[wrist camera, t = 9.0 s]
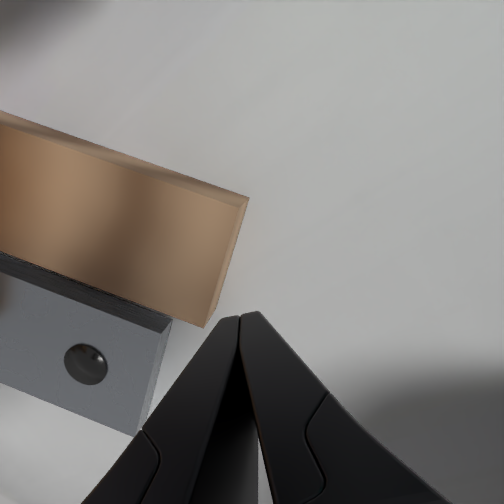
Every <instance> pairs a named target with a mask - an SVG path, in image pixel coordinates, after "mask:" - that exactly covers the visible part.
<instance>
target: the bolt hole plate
mask: <svg viewBox="0 0 504 504" xmlns="http://www.w3.org/2000/svg"><path fill="white" fill-rule="evenodd" d="M172 320H173V319H170V318H167V317H165V316H162V315H160V314H157V313H154V312H152V311H149V310H146V309H144V308H141V307H139V306H136V305H133V304H131V303H128V302H126V301H123V300H120V299H118V298H115V297H112V296H110V295H107V294H105V293H102V292H99V291H97V290H94V289H91V288H89V287H86V286H84V285H81V284H78V283H76V282H73V281H70V280H68V279H65V278H63V277H60V276H57V275H55V274H52V273H49V272H47V271H44V270H42V269H39V268H36V267H34V266H31V265H28V264H26V263H23V262H21V261H18V260H15V259H13V258H10V257H8V256H5V255H2V254H0V383H3V384H5V385H8V386H10V387H13V388H15V389H17V390H20V391H22V392H25V393H27V394H30V395H32V396H34V397H37V398H39V399H42V400H44V401H47V402H49V403H52V404H54V405H56V406H59V407H61V408H64V409H66V410H69V411H71V412H74V413H76V414H78V415H81V416H83V417H86V418H88V419H91V420H93V421H95V422H98V423H100V424H103V425H105V426H108V427H110V428H113V429H115V430H117V431H120V432H122V433H125V434H127V435H130V436H132V437H135V436H136V434H137V433H138V432H139V430H140V429H141V427H142V425H143V424H144V422H145V421H146V419H147V415H148V411H149V408H150V404H151V400H152V396H153V392H154V388H155V385H156V381H157V377H158V373H159V369H160V365H161V362H162V358H163V354H164V350H165V346H166V342H167V339H168V335H169V331H170V327H171V323H172Z"/></svg>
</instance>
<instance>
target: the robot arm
mask: <svg viewBox="0 0 504 504" xmlns="http://www.w3.org/2000/svg"><path fill="white" fill-rule="evenodd" d="M258 437H259V442H260V446H261V451H262V455H263V460H264V464H265V469H266V473H267V478H268V482H269V486H270V491H271V495H272V500H273V504H453V503H451V502H450V501H449V500H447V499H446V498H445V497H444V496H442V495H441V494H440V493H439V492H438V491H436V490H435V489H434V488H433V487H432V486H430V485H429V484H428V483H427V482H426V481H425V480H423V479H422V478H421V477H420V476H419V475H418V474H416V473H415V472H414V471H413V470H412V469H411V468H409V467H408V466H407V465H406V464H405V463H404V462H402V461H401V460H400V459H399V458H398V457H396V456H395V455H394V454H393V453H392V452H391V451H389V450H388V449H387V448H386V447H385V446H384V445H382V444H381V443H380V442H379V441H378V440H377V439H376V438H375V437H373V436H372V435H371V434H370V433H369V432H368V431H367V430H366V429H365V428H364V427H362V426H361V425H360V424H359V423H358V422H357V421H356V420H355V419H354V418H353V416H352V415H351V414H350V413H349V412H348V411H347V410H346V409H345V408H344V407H343V406H342V405H341V404H340V403H339V401H338V400H337V399H336V398H335V397H334V396H333V395H332V394H330V392H329V390H328V389H327V388H326V387H325V386H324V385H323V383H322V382H321V381H320V380H319V379H318V378H317V377H316V375H315V374H314V373H313V372H312V371H311V370H310V369H309V367H308V366H307V365H306V364H305V363H304V362H303V361H302V359H301V358H300V357H299V356H298V355H297V354H296V353H295V351H294V350H293V349H292V348H291V347H290V346H289V345H288V343H287V342H286V341H285V340H284V339H283V338H282V337H281V335H280V334H279V333H278V332H277V331H276V330H275V329H274V327H273V326H272V325H271V324H270V323H269V322H268V321H267V319H266V318H265V317H264V316H263V315H262V314H261V313H260V312H259V311H255V312H250V313H245V314H242V315H241V317H240V316H238V315H236V316H231V317H226V318H222V319H221V320H220V321H219V322H218V323H217V325H216V326H215V327H214V329H213V330H212V332H211V333H210V334H209V336H208V337H207V338H206V340H205V341H204V342H203V344H202V345H201V347H200V348H199V349H198V351H197V352H196V353H195V355H194V356H193V358H192V359H191V360H190V362H189V363H188V364H187V366H186V367H185V369H184V370H183V371H182V373H181V374H180V375H179V377H178V378H177V380H176V381H175V382H174V384H173V385H172V386H171V388H170V389H169V391H168V392H167V393H166V395H165V396H164V397H163V399H162V400H161V402H160V403H159V404H158V406H157V407H156V408H155V410H154V411H153V413H152V414H151V415H150V417H149V418H148V419H147V421H146V422H145V424H144V425H143V426H142V430H140V431H139V432H138V433H137V434H136V436H135V437H134V438H133V440H132V441H131V442H130V444H129V445H128V447H127V448H126V449H125V450H124V452H123V453H122V454H121V456H120V457H119V458H118V460H117V461H116V462H115V463H114V465H113V466H112V467H111V469H110V470H109V471H108V472H107V473H106V475H105V476H104V477H103V478H102V479H101V481H100V482H99V483H98V484H97V485H96V487H95V488H94V489H93V490H92V491H91V493H90V494H89V495H88V496H87V497H86V498H85V500H84V501H83V502H82V503H81V504H258Z"/></svg>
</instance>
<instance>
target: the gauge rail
mask: <svg viewBox="0 0 504 504" xmlns="http://www.w3.org/2000/svg"><path fill="white" fill-rule="evenodd" d="M248 201H249V197H246V196H243V195H240V194H237V193H234V192H232V191H229V190H226V189H223V188H220V187H217V186H214V185H211V184H209V183H206V182H203V181H200V180H197V179H194V178H191V177H189V176H186V175H183V174H180V173H177V172H174V171H171V170H169V169H166V168H163V167H160V166H157V165H154V164H151V163H149V162H146V161H143V160H140V159H137V158H134V157H131V156H129V155H126V154H123V153H120V152H117V151H114V150H111V149H109V148H106V147H103V146H100V145H97V144H94V143H91V142H89V141H86V140H83V139H80V138H77V137H74V136H71V135H69V134H66V133H63V132H60V131H57V130H54V129H51V128H48V127H46V126H43V125H40V124H37V123H34V122H31V121H28V120H26V119H23V118H20V117H17V116H14V115H11V114H8V113H6V112H3V111H0V251H2V252H4V253H7V254H10V255H12V256H15V257H17V258H20V259H23V260H25V261H28V262H31V263H33V264H36V265H38V266H41V267H44V268H46V269H49V270H52V271H54V272H57V273H59V274H62V275H65V276H67V277H70V278H73V279H75V280H78V281H80V282H83V283H86V284H88V285H91V286H94V287H96V288H99V289H101V290H104V291H107V292H109V293H112V294H115V295H117V296H120V297H122V298H125V299H128V300H130V301H133V302H136V303H138V304H141V305H143V306H146V307H149V308H151V309H154V310H157V311H159V312H162V313H164V314H167V315H170V316H172V317H175V318H178V319H180V320H183V321H185V322H188V323H191V324H193V325H196V326H199V327H201V328H204V327H205V325H206V324H207V322H208V320H209V319H210V317H211V316H212V314H213V312H214V311H215V309H216V306H217V303H218V300H219V296H220V293H221V290H222V286H223V283H224V280H225V276H226V273H227V270H228V267H229V263H230V260H231V257H232V253H233V250H234V247H235V244H236V240H237V237H238V234H239V230H240V227H241V224H242V220H243V217H244V214H245V211H246V207H247V204H248Z"/></svg>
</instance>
